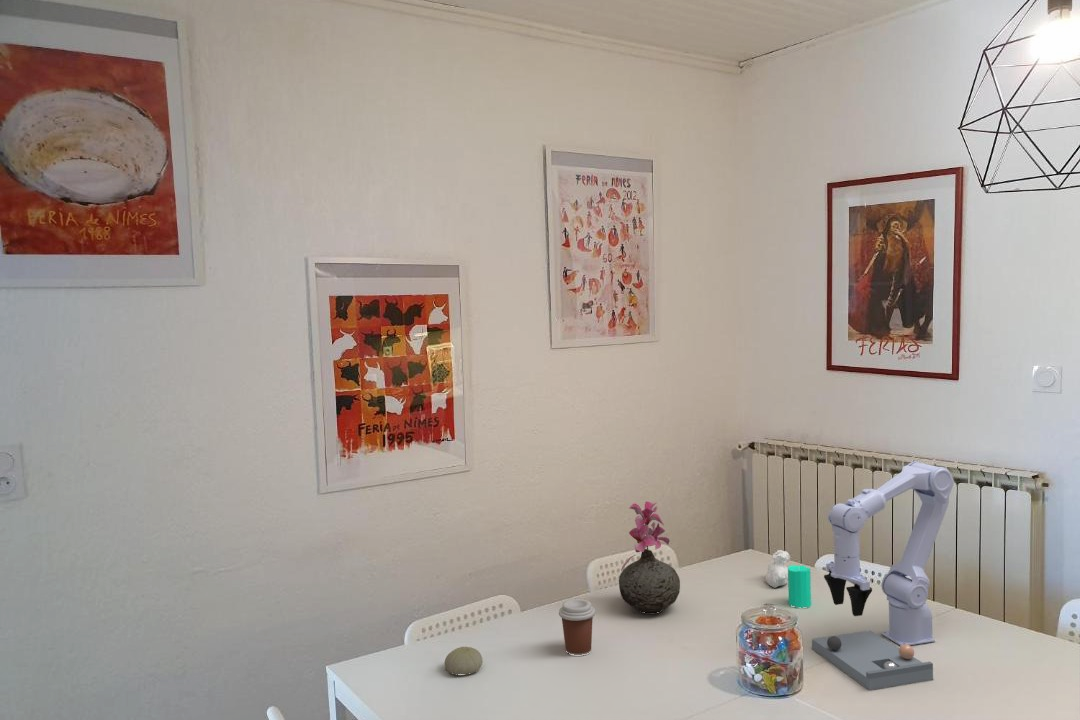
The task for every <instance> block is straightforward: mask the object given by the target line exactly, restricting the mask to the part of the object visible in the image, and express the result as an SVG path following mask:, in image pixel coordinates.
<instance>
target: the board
mask: <svg viewBox="0 0 1080 720" xmlns="http://www.w3.org/2000/svg"><path fill="white" fill-rule="evenodd" d="M831 636H832V635H829V636H822V637H817V638H816V637H815V638H812V639H811V649H812V650H813V651H815V652H816V653H817V654H818V655H820V656H821V657H823V658H824V659H826V660H827V661H828V662H830V663H831V664H832V665H833V666H835V667H836V668H838V669H839V670H841V671H842V672H843V673H845V674H846V675H847V676H849V677H850V678H852V679H853V680H855V681H856V682H857V683H859V684H860V685H861V686H863V687H864V688H865V689H866V690H868V691H874V690H880V689H887V688H892V686H893V687H898V685H899V686H904V685H903V684H905V685H909V683H911V684H917V683H922V681H923V682H928V681H927V680H929V681H933V680H934V664H933V662H931V661H925V662H924V661H921V660H919V659H918V658H917V657H915V656H913V657H912V658H911V659H904V658H902V657H901V656H900V654H899V648H900V647H898V646H896V645H894V644H893V643H891V642H890V641H889V640H886V639H885V638H883V637H881V636H880V635H878V634H877V633H875V632H873V631H871V630H863V631H856V632H850V633H843V634H836V635H834V636H836V637H838V638H839V639H840V640H841V644H842V645H841V648H840V649H839V650H831V649H830V648H829V647H828V645H827V640H828V638H829V637H831ZM888 661H891V662H894V663H895V664H896V665H897V666H898V667H893V668H887V669H883V665H884V663H885V662H888ZM916 682H917V683H916ZM886 687H887V688H886Z"/></svg>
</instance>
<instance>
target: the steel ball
mask: <svg viewBox="0 0 1080 720" xmlns="http://www.w3.org/2000/svg"><path fill="white" fill-rule="evenodd" d="M893 667H898V666H897V665H896V664H895V663H894V662H891V661H888V662H885V663H884V665H883V669H887V668H893Z"/></svg>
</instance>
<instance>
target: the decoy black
mask: <svg viewBox="0 0 1080 720" xmlns="http://www.w3.org/2000/svg"><path fill="white" fill-rule="evenodd" d="M830 636H831V637H829V638H828V640H827V645H828V647H829V648H830V649H831V650H839V649H840V648H841V645H842V644H841V640H840V639H839V638H838V637H836V636H835V635H830Z"/></svg>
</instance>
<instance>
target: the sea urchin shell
mask: <svg viewBox="0 0 1080 720" xmlns="http://www.w3.org/2000/svg"><path fill="white" fill-rule="evenodd" d="M483 662H484V661H483V657H482V654H481V652H480V651H479V650H478V649H477V648H474V647H471V646H460V647H457V648H455V649H453V650H451V652H449V653H448V654H447V655H446V656H445V660H444V667H445V669H446V671H447V672H449V673H450V674H451V673H453V674H452V675H454V674H457V675H458V674H469V673H473V672H476V671H478V672H479V670H480V669H481V668H482V666H483ZM476 673H477V672H476ZM473 674H474V673H473ZM457 675H456V676H457Z"/></svg>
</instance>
